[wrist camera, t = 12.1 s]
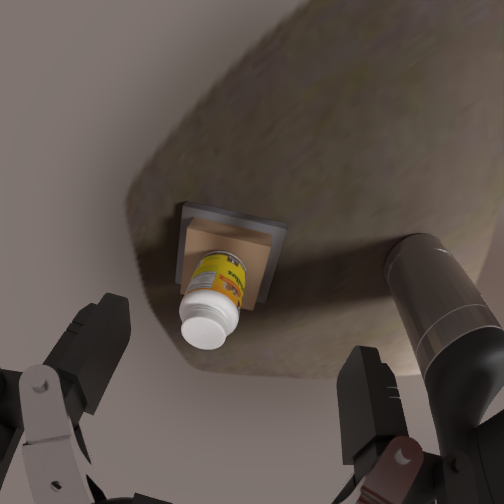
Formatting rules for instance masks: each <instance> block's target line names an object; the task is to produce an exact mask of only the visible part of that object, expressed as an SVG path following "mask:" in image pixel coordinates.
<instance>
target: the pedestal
mask: <svg viewBox="0 0 504 504" xmlns="http://www.w3.org/2000/svg"><path fill="white" fill-rule="evenodd" d="M286 232H287V224H286V223H281V222H277V221H273V220H269V219H264V218H260V217H256V216H252V215H247V214H243V213H238V212H234V211H229V210H225V209H220V208H216V207H211V206H207V205H202V204H197V203H193V202H188V201H186V202H185V204H184V205H183V209H182V217H181V226H180V235H179V245H178V255H177V266H176V278H175V283H177V284H181V291H180V294H183V295H184V294H185V292H186V290H187V288H188V285H189V283H190V281H191V278H192V276H193V274H194V272H195V270H196V267H197V265H198V263H199V261H200V260H201V259H202V258H203V257H204V256H205V255H207V254H208V253H211V252H214V251H224V252H228V253H231V254H233V255H235V256H236V257H237V258H239V259H240V260H241V262H242V263H243V265H244V266H245V269H246V283H245V288H244V294H243V299H242V304H241V308H242V309H247V310H251V311H253V310H254V306H255V303H256V302H258V303H262V304H265V302H266V299H267V296H268V292H269V289H270V286H271V283H272V279H273V276H274V273H275V269H276V266H277V263H278V259H279V256H280V253H281V249H282V246H283V242H284V239H285V236H286Z"/></svg>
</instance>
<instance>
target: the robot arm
mask: <svg viewBox="0 0 504 504" xmlns="http://www.w3.org/2000/svg"><path fill="white" fill-rule="evenodd" d="M384 276H385V279H386V282H387V284H388V287H389V289H390V291H391V294H392V296H393V299H394V301H395V304H396V306H397V309H398V311H399V314H400V316H401V319H402V321H403V324H404V327H405V329H406V332H407V335H408V337H409V340H410V343H411V345H412V348H413V351H414V354H415V357H416V360H417V362H418V365H419V368H420V371H421V374H422V377H423V380H424V383H425V386H426V390H427V392H428V397H429V404H430V409H431V413H432V417H433V421H434V424H435V428H436V433H437V438H438V443H439V449H440V456H439V455H435V454H431V453H427V452H424V451H423V450H422V448H421V446H420V444H419V443H418V442H417V441H416V440H415V439H413V438H411V437H409V435H408V431H407V426H406V421H405V416H404V412H403V408H402V404H401V399H399V397H400V395H399V391H398V389H397V384H396V379H395V376H394V374H393V372H392V371H391V369H390V368H389V366H388V365H387V363H381V360H380V356H379V352H378V350H377V348H373V347H365V346H355V347H354V348H353V350H352V352H351V354H350V355H349V357H348V359H347V360H346V362H345V364H344V365H343V367H342V369H341V370H340V372H339V375H338V378H337V396H338V406H339V418H340V429H341V442H342V458H343V465H354V472H353V473H352V474H351V475H350V476H349V478H348V479H347V480H346V482H345V483H344V484H343V486H342V487H341V488H340V489H339V491H338V492H337V493H336V494H335V496H334V497H333V498H332V499H331V501H330V502H329V503H328V504H435V500H437V504H504V409H503V410H502V411H500V412H499V413H497V414H496V415H494V416H493V417H491V418H490V419H488V420H487V421H485V422H484V423H482V424H480V421H481V419H482V417H483V415H484V413H485V411H486V410H487V408H488V406H489V405H490V403H491V402H492V400H493V399H494V397H495V396H496V395H497V393H498V392H499V391H500V390H501V388H502V387H503V386H504V330H503V329H502V327H501V325H500V324H499V322H498V320H497V319H496V317H495V316H494V314H493V313H492V311H491V310H490V308H489V307H488V305H487V304H486V302H485V301H484V299H483V298H482V297H481V294H480V292H479V291H478V289H477V288H476V286H475V285H474V283H473V282H472V281H471V279H470V278H469V277H468V275H467V274H466V273H465V271H464V270H463V269H462V267H461V266H460V265H459V263H458V262H457V261H456V259H455V258H454V257H453V256H452V254H451V253H450V252H448V250H447V249H446V248H445V247H444V245H443V244H442V243H441V242H440V241H439V239H437V238H436V237H434V236H432V235H429V234H415V235H412V236H409V237H407V238H405V239H403V240H401V241H400V242H399V243H398V244H397V245H395V247H394V248H393V249H392V250H391V251H390V253H389V255H388V257H387V259H386V262H385V265H384ZM130 334H131V325H130V313H129V302H128V299H127V298H125V297H122V296H118V295H115V294H111V293H106V294H105V295H104V296H103V298H102V299H101V301H100V302H99V303H98V305H96V304H93V303H90V304H89V305H88V306H86V307H84V308H83V309H81V310H80V311H79V312H78V314H77V315H76V317H75V318H74V319H73V321H72V323H70V325H69V326H68V328H67V329H66V331H65V332H64V333H63V335H62V336H61V338H60V339H59V341H58V342H57V344H56V345H55V346H54V348H53V349H52V351H51V352H50V354H49V355H48V357H47V358H46V360H45V361H44V363H43V364H42V365H34V366H31V367H29V368H28V369H26V370H25V371H24V372H17V371H11V370H4V369H1V368H0V490H1V487H2V484H3V481H4V478H5V476H6V473H7V471H8V468H9V465H10V463H11V460H12V458H13V455H14V453H15V450H16V448H17V446H18V443H19V441H20V438H21V436H22V434H23V432H24V430H25V435H26V443H25V444H23V446H22V454H23V459H24V464H25V469H26V473H27V477H28V481H29V485H30V489H31V492H32V496H33V499H34V502H35V504H172V503H170V502H166V501H162V500H158V499H155V498H151V497H148V496H145V495H141V494H138V493H135V494H134V497H133V498H129V497H123V498H122V497H120V498H111V499H109V497H108V494H107V492H106V490H105V487H104V485H103V483H102V481H101V479H100V477H99V475H98V473H97V471H96V469H95V466H94V463H93V461H92V458H91V455H90V452H89V449H88V446H87V443H86V440H85V436H84V433H83V430H82V426H81V423H80V418H81V416H82V414H83V412H86V413H89V414H91V415H94V413H95V411H96V409H97V406H98V405H99V402H100V400H101V398H102V396H103V394H104V392H105V390H106V388H107V385H108V383H109V381H110V379H111V377H112V375H113V373H114V371H115V369H116V367H117V365H118V363H119V361H120V359H121V357H122V355H123V353H124V351H125V349H126V347H127V345H128V342H129V339H130ZM479 424H480V425H479Z"/></svg>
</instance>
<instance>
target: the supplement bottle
mask: <svg viewBox="0 0 504 504" xmlns="http://www.w3.org/2000/svg"><path fill="white" fill-rule="evenodd" d="M245 283H246V269H245V266H244V265H243V263H242V262H241V260H240V259H239V258H237V257H236V256H235V255H233V254H231V253H228V252H224V251H214V252H211V253H208V254H207V255H205V256H204V257H203V258H202V259H201V260H200V261H199V263H198V265H197V267H196V270H195V272H194V274H193V276H192V278H191V281H190V283H189V285H188V288H187V290H186V292H185V294H184V297H183V299H182V301H181V304H180V308H179V314H180V318H181V320H182V322H183V323H182V326H181V332H182V335H183V337H184V338H185V340H186V341H187V342H188V343H190V344H191V345H193V346H195V347H197V348H200V349H215V348H218V347H220V346H221V345H222V344H223V343H224V342H225V339H226V336H227V335H229V334H230V333H232V332H233V331H234V330H235V328H236V326H237V324H238V320H239V315H240V309H241V304H242V299H243V294H244V288H245Z"/></svg>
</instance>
